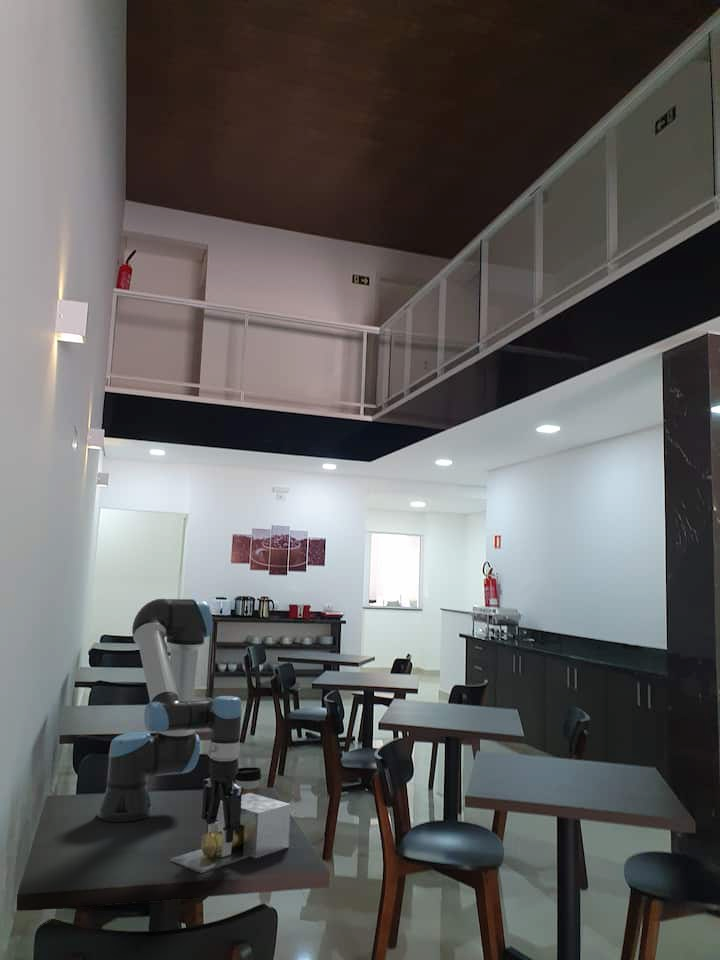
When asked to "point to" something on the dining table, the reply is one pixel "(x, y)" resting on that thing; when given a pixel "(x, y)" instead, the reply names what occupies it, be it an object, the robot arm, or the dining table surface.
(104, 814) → the robot arm
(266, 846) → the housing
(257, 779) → the coffee cup
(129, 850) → the dining table surface
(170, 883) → the dining table surface
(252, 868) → the dining table surface
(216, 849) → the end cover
